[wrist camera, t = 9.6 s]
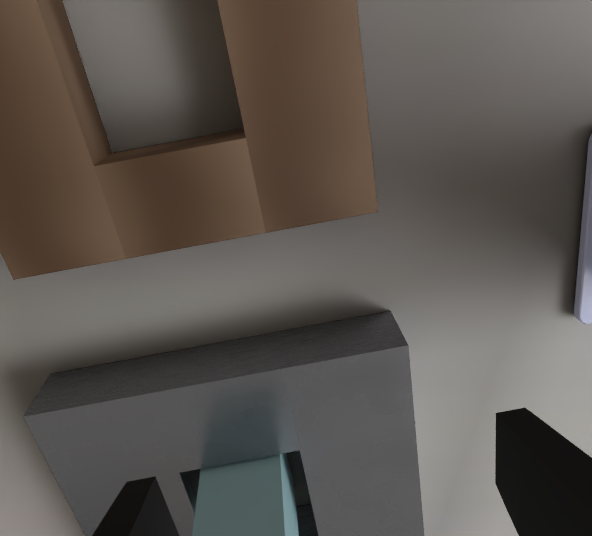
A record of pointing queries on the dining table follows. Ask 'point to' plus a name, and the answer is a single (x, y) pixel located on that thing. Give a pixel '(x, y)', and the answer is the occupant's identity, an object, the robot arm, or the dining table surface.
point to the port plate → (246, 424)
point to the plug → (247, 499)
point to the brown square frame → (181, 141)
